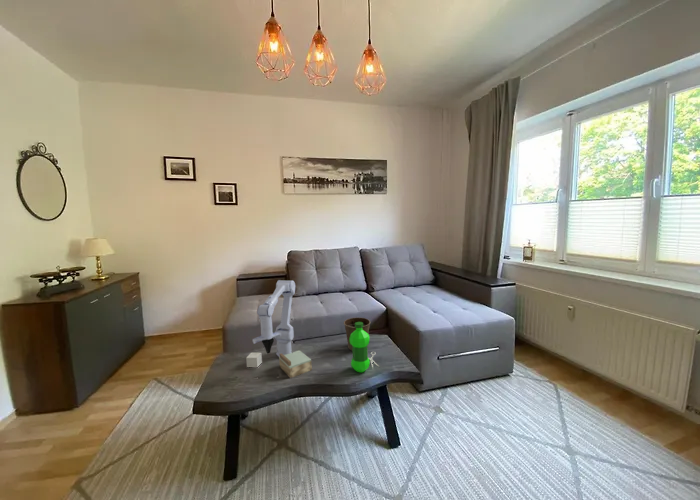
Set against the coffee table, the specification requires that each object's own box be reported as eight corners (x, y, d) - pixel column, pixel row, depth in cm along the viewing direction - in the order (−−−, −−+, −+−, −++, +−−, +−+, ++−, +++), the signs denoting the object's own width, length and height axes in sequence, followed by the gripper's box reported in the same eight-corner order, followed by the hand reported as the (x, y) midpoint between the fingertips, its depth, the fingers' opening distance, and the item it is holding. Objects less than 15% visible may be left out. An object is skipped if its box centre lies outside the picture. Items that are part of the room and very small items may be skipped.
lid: (289, 368, 144) (289, 363, 143) (279, 358, 155) (278, 353, 155) (311, 360, 151) (311, 355, 150) (299, 351, 162) (299, 346, 162)
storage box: (290, 378, 144) (289, 368, 144) (279, 367, 156) (279, 358, 155) (311, 370, 151) (311, 361, 151) (300, 360, 163) (299, 351, 162)
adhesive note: (262, 362, 161) (261, 352, 161) (257, 368, 156) (257, 357, 155) (251, 362, 162) (251, 352, 161) (247, 368, 156) (246, 357, 155)
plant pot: (368, 354, 167) (367, 327, 165) (341, 352, 170) (340, 326, 169) (373, 342, 182) (372, 317, 181) (348, 341, 186) (347, 316, 184)
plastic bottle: (355, 363, 157) (353, 318, 154) (373, 367, 152) (372, 321, 149) (347, 372, 148) (345, 325, 145) (366, 376, 143) (364, 328, 140)
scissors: (373, 350, 171) (386, 366, 152) (373, 351, 171) (386, 367, 152) (356, 352, 169) (367, 369, 149) (356, 354, 169) (367, 370, 149)
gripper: (254, 333, 141) (256, 359, 143) (282, 326, 150) (284, 351, 151) (250, 329, 147) (252, 354, 149) (277, 322, 156) (279, 346, 157)
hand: (268, 352), depth 150 cm, fingers closed
